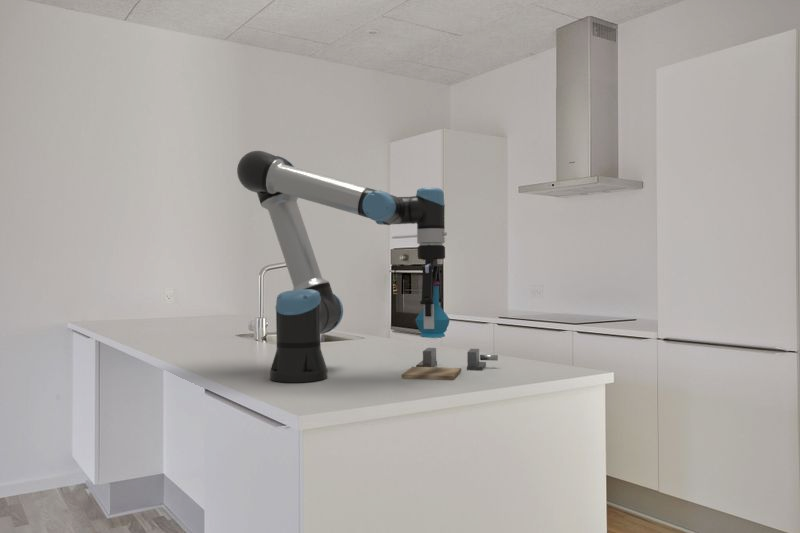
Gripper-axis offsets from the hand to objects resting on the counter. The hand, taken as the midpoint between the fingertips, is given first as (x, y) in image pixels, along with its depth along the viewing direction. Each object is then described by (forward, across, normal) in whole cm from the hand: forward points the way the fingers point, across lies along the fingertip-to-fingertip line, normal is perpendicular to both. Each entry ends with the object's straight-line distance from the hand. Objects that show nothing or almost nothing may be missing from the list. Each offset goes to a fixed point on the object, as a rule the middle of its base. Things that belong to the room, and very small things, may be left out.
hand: (432, 327), depth 183 cm
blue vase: (+3, 0, 0) cm, 3 cm away
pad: (+13, 0, 0) cm, 13 cm away
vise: (+13, +15, -5) cm, 20 cm away
